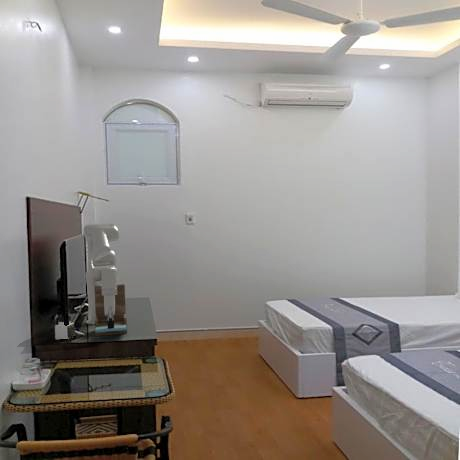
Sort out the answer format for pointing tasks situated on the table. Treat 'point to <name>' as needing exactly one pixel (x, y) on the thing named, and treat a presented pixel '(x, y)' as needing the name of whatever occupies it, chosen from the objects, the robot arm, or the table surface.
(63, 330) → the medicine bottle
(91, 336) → the table surface
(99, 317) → the striped wooden block
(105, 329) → the panel
